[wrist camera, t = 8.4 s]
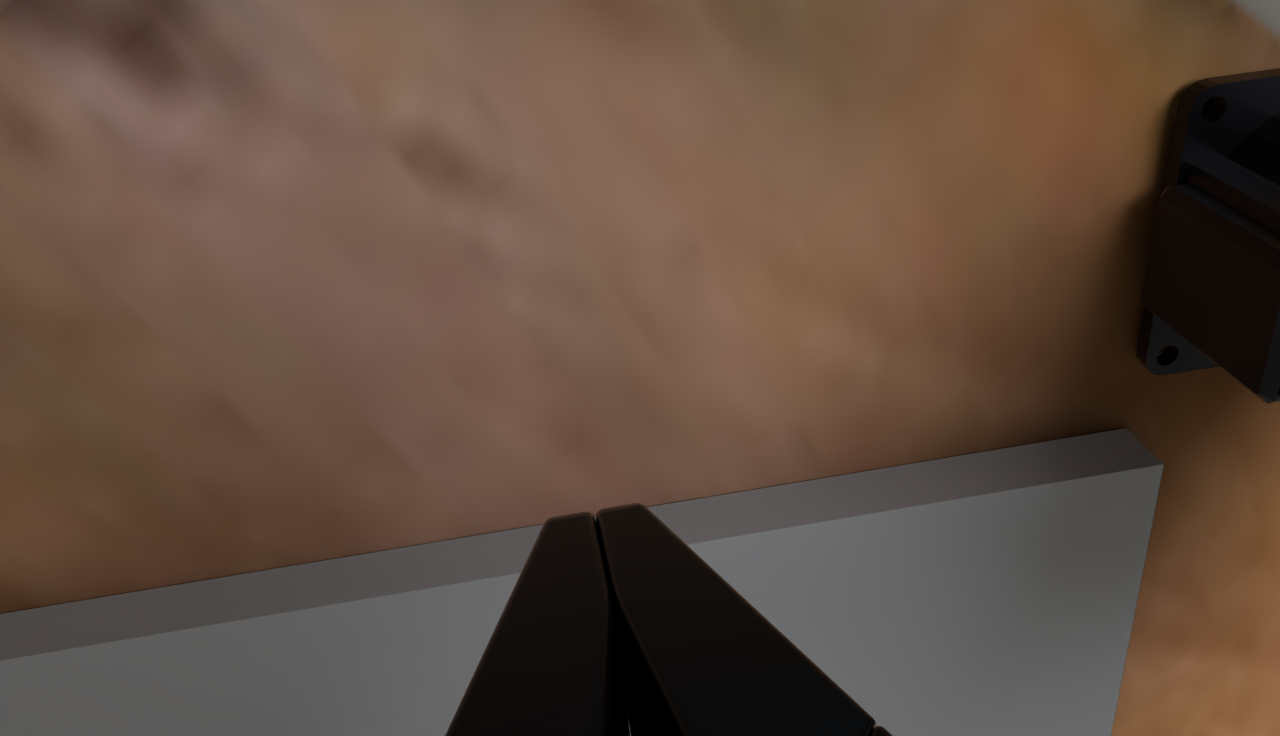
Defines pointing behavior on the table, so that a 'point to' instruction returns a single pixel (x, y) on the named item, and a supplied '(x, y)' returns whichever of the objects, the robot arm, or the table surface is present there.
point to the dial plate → (718, 533)
